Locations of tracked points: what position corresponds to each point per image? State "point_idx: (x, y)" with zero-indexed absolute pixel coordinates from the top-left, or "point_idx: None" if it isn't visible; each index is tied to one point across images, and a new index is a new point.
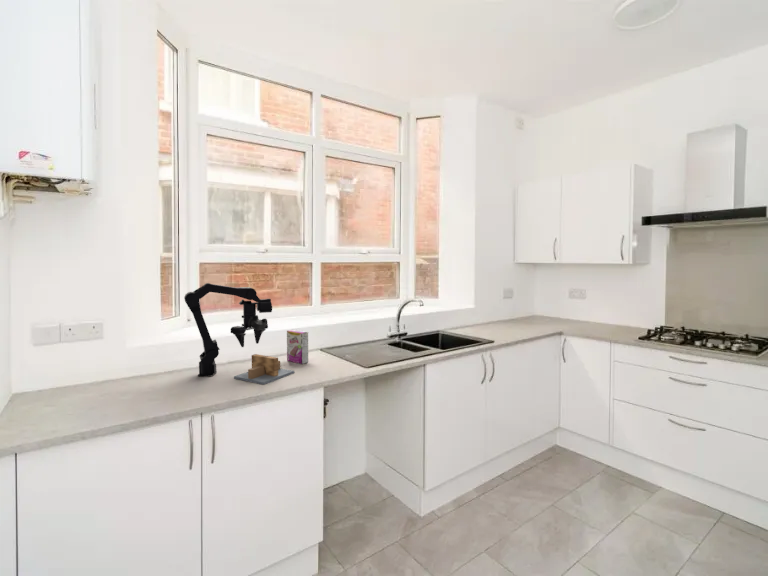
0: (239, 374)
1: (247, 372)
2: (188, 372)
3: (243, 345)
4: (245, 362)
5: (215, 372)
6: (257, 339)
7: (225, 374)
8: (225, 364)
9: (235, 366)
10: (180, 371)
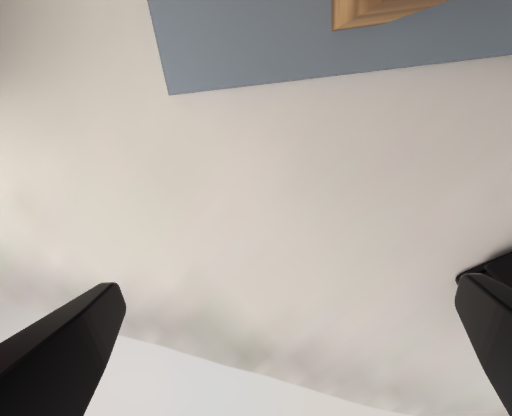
0: (502, 53)
1: (416, 45)
2: None
3: (496, 290)
4: (194, 304)
5: (505, 258)
6: (68, 350)
7: (471, 199)
8: (293, 352)
9: (289, 287)
10: (505, 412)
